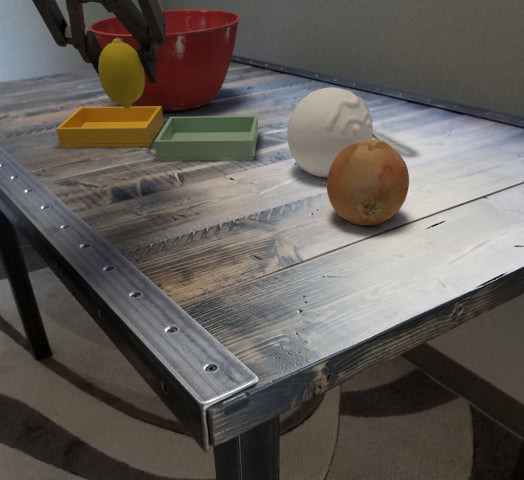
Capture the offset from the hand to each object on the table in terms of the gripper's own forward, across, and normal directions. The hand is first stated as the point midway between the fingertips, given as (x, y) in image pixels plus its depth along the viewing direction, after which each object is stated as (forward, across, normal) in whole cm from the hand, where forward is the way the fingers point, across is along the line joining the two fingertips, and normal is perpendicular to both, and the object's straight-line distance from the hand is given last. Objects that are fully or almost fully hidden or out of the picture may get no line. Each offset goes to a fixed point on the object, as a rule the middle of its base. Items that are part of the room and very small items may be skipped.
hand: (129, 73), depth 75 cm
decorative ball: (+13, +26, -8) cm, 31 cm away
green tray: (+22, +7, 0) cm, 23 cm away
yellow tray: (+27, -11, +5) cm, 29 cm away
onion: (+2, +30, -19) cm, 36 cm away
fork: (+26, +34, +5) cm, 43 cm away
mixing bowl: (+42, -4, +20) cm, 46 cm away
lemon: (0, 0, -5) cm, 5 cm away
